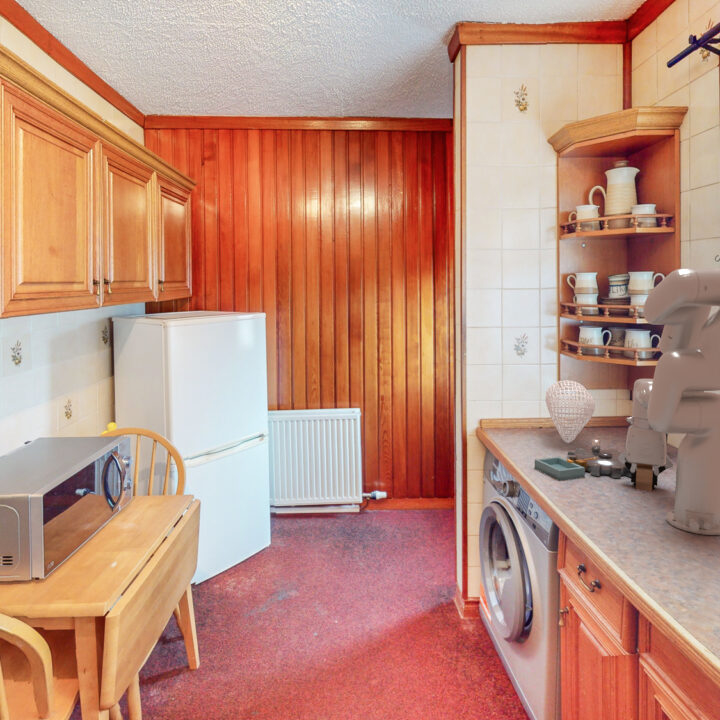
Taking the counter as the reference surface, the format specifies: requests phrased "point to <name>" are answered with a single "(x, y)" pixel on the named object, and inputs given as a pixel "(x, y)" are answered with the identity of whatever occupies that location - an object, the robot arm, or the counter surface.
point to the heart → (586, 412)
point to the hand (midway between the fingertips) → (643, 485)
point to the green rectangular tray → (560, 468)
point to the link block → (644, 477)
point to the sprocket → (599, 460)
